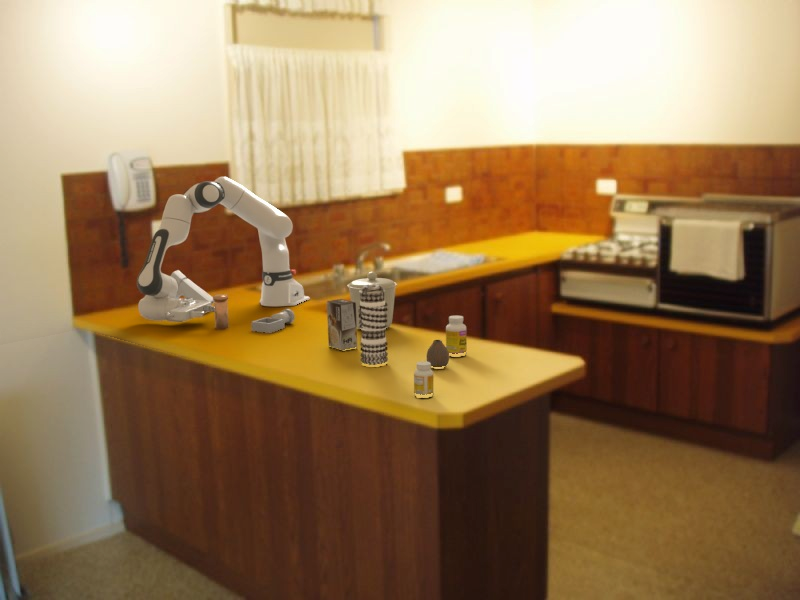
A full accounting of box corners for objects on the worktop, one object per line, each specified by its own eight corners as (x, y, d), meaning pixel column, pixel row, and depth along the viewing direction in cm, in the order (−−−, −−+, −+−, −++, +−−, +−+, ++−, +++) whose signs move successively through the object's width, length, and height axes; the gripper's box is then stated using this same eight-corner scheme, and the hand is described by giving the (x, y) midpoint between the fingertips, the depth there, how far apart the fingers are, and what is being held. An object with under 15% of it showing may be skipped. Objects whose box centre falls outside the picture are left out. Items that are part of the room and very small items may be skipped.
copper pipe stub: (221, 325, 355) (219, 294, 353) (232, 327, 352) (231, 295, 350) (211, 328, 350) (209, 296, 348) (222, 330, 347) (220, 297, 345)
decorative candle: (391, 366, 291) (389, 287, 286) (362, 369, 289) (360, 289, 284) (386, 359, 300) (384, 282, 295) (357, 361, 298) (355, 284, 293)
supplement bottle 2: (460, 359, 298) (460, 319, 296) (442, 356, 302) (441, 317, 299) (470, 354, 304) (470, 315, 302) (452, 352, 307) (451, 314, 305)
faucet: (209, 301, 377) (172, 270, 378) (188, 331, 382) (150, 300, 383) (216, 298, 383) (178, 267, 384) (194, 328, 388) (157, 297, 389)
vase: (425, 365, 292) (425, 338, 290) (447, 364, 292) (447, 337, 290) (428, 371, 285) (427, 343, 283) (450, 370, 285) (450, 342, 284)
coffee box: (358, 349, 314) (357, 302, 311) (342, 352, 311) (341, 304, 308) (343, 344, 322) (341, 298, 319) (327, 347, 318) (325, 300, 315)
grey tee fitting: (280, 322, 359) (279, 307, 358) (298, 324, 355) (297, 309, 353) (251, 331, 345) (250, 316, 344) (270, 333, 340) (269, 318, 339)
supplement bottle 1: (416, 400, 256) (415, 366, 254) (412, 394, 262) (411, 361, 260) (435, 398, 257) (435, 364, 255) (431, 393, 262) (430, 360, 261)
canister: (404, 324, 350) (403, 268, 346) (388, 335, 334) (386, 276, 329) (359, 322, 356) (357, 267, 352) (341, 332, 339) (339, 275, 335)
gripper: (162, 307, 346) (194, 309, 342) (191, 297, 365) (222, 298, 361) (163, 324, 347) (195, 325, 343) (192, 312, 366) (223, 314, 362)
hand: (209, 311), depth 352 cm, fingers open, 8 cm apart
